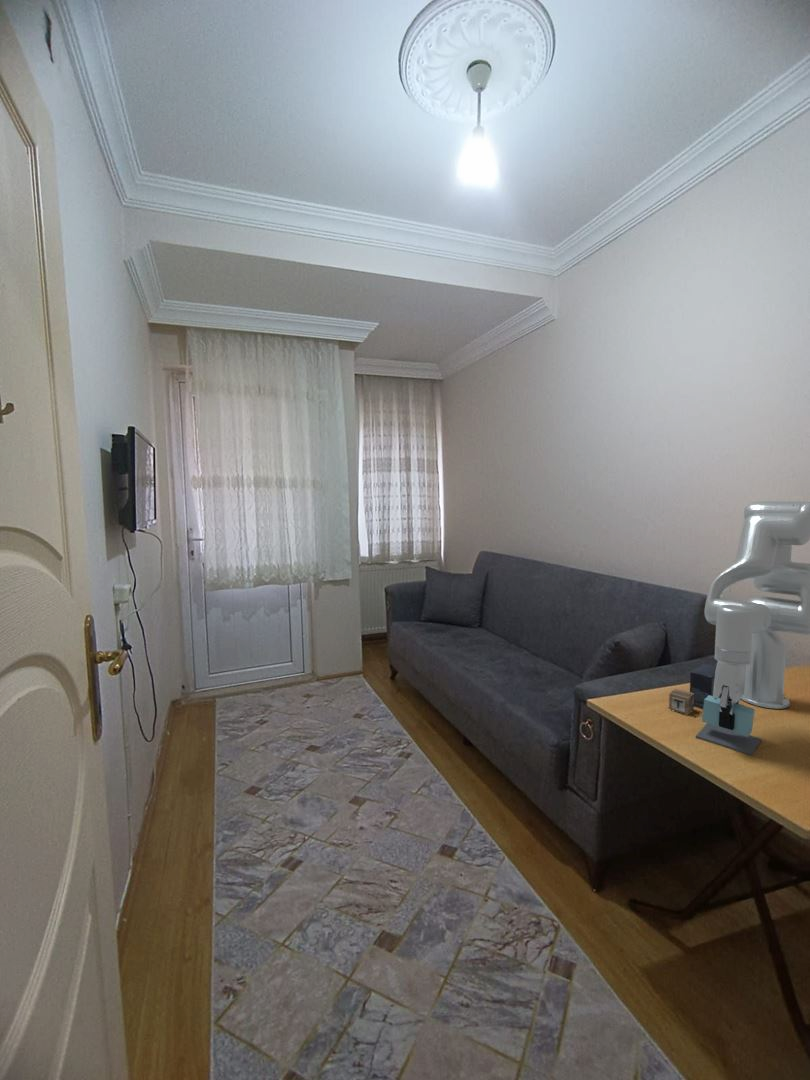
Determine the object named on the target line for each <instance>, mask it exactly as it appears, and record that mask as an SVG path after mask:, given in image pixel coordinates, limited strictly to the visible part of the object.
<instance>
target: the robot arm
mask: <svg viewBox="0 0 810 1080" xmlns="http://www.w3.org/2000/svg"><path fill="white" fill-rule="evenodd" d="M743 515H744V517H743V518H744V522H743V524H742V528H741V533H740V537H739V542H738V547H737V550H736V551H737V552H736V555H735V561H734V562H733V564H731V565H729V566H728V567H726V568H725V569H723V570H722V571H721V572H719V574H718V575H716V577H715V578H714V579H713V580H712V582H711V583H710V585H709V587H708V591H707V596H706V600H705V605H704V612H703V613H704V617H705V619H706V621H707V623H708V624H711V625H714V626H715V640H714V643H715V644H714V659H715V660H716V661H717V663H716V665H715V666H716V672H715V681H714V691H713V698H714V699H718V698H719V697H720V696H721V700H720V710H719V726H720V727H723V728H726V729H730V730H733V729H734V721H735V714H733V712H734V704H735V703H737V704H740V705H741V703H740V702H741V700H742V701H744V702H745V703H748V704H750V705H754V706H757V707H762V708H768V709H776V710H782V709H786V708H789V706H790V700H789V699H788V698H787V697H785V695H784V686H785V672H786V657H787V655H786V654H787V646H786V643H785V640H784V639H783V638H782V636H781V635H780V633H779V632H781V633H782V632H783V633H789V634H795V635H800V636H801V635H802V636H810V563H808V562H795V561H794V562H793V561H792V551H793V546H803V545H806V544H807V543H808V542H809V541H810V501H801V500H800V501H793V500H792V501H789V500H788V501H783V500H780V501H778V500H777V501H776V500H775V501H773V500H769V501H768V500H766V501H754V502H752V503H749V504H746V506H745V507H744V512H743ZM750 579H753V585H754V587H755V588H756V589H757V590H759V591H761V592H766V593H771V594H780V595H788V596H795V597H796V596H797V597H798V598H799V599H800V600H796V599H787V598H781V597H773V596H763V595H760V596H758V595H757V596H753V597H750V598H749V599H748V600H740V599H732V598H725V597H723V595H724V593H725V591H726V590H727V589H729V587H731V586H733V585H735V584H736V583H739V582H743V581H745V580H750ZM728 704H731V706H728Z"/></svg>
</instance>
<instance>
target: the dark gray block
mask: <svg viewBox="0 0 810 1080" xmlns="http://www.w3.org/2000/svg"><path fill="white" fill-rule="evenodd" d="M695 738H696V739H700V740H702V741H705V742H708V743H712V744H714V745H718V746H721V747H724V748H728V749H731V750H733V751H737V752H739V753H744V754H746V755H748V756H753V755H754V753H755V752H756V751H757V749H758V747H759V745H760V744H761V742H762V738H760V737H758V736H753V735H751V734H750V735H749V736H748V737H747V736H744V735H741V734H738V733H735V732H732V731H729V730H726V729H723V728H720V727H717V726H714V725H711V724H708V723H706V724H705V725H704V726H703V727H702V729H700V731H698V732H697V734H696V735H695Z"/></svg>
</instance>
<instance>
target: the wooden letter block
mask: <svg viewBox="0 0 810 1080" xmlns="http://www.w3.org/2000/svg"><path fill="white" fill-rule="evenodd" d="M668 695H669V698H668V699H669V700H668V710H669V709H671V710H670V711H672V710H674V711H673V712H675V711H677V712H676V713H679V712H680V713H679V714H682V713H684V714H683V715H685V714H687V715H686V716H689V715H690V714H691V713H692V712H693V711H694V710H695V706H694V693H691V692H690V691H686V690H684V689H683V690H682V689H679V688H674V689H673V690H672V691H670V692H669V694H668ZM692 710H693V711H692ZM691 711H692V712H691ZM690 712H691V713H690ZM689 713H690V714H689ZM688 714H689V715H688Z"/></svg>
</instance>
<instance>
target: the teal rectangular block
mask: <svg viewBox="0 0 810 1080" xmlns="http://www.w3.org/2000/svg"><path fill="white" fill-rule="evenodd" d="M720 700H721V699H720V698H718V699H714V698H713V696H710V695H709V696H707V697H706V698H705V699H704V707H703V709H702V710H703V711H702V716H701V717H702V718H701V722H703V723H706V724H707V723H708V724H711V725H714V726H717V727H720V726H719V710H720ZM728 706H731V704H728ZM755 711H756V710H755V708H753V707H749V706H747V705H743V704H741V703H740V704H737V703H735V704H734V712H733V714H735V721H734V729H733V730H730V729H726V728H723V727H720V728H723V729H726V730H729V731H732V732H735V733H738V734H741V735H744V736H747V737H748V736H749V735H751V733H752V732H753V725H754V718H755Z"/></svg>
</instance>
